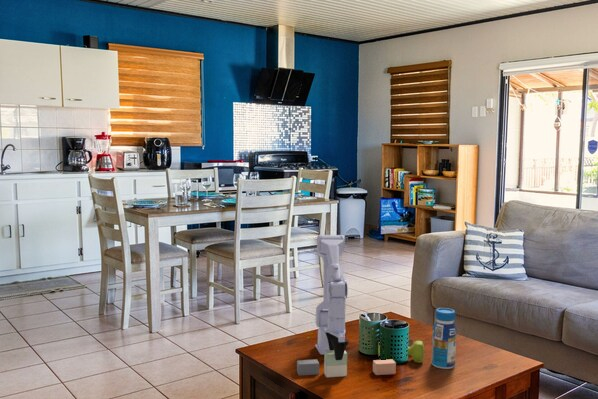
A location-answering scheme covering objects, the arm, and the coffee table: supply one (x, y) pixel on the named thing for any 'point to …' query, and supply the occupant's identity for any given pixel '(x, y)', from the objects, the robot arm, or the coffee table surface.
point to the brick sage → (331, 361)
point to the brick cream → (335, 370)
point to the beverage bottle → (444, 339)
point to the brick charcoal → (307, 367)
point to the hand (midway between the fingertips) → (335, 355)
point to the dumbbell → (413, 351)
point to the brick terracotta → (384, 367)
